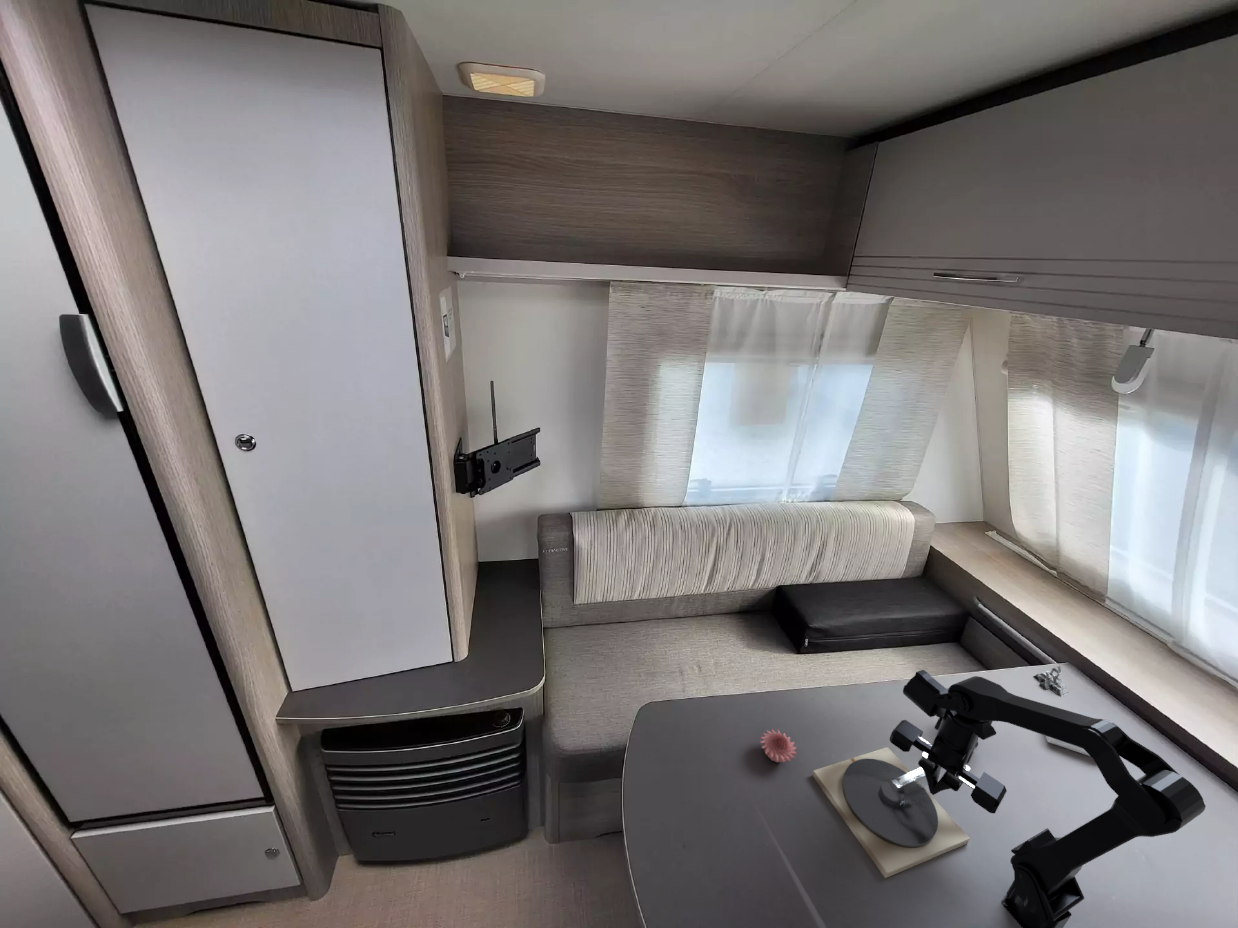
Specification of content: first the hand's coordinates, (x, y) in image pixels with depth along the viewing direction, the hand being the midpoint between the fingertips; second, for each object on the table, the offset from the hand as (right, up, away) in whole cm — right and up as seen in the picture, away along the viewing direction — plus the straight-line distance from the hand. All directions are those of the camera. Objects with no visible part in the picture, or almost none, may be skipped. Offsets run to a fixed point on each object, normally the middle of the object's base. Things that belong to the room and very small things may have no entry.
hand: (932, 792), depth 101 cm
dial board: (-9, -4, +1) cm, 10 cm away
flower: (-28, +1, +10) cm, 30 cm away
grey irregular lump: (+49, +6, +33) cm, 60 cm away
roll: (+43, -1, +17) cm, 46 cm away
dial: (-9, -2, 0) cm, 9 cm away
